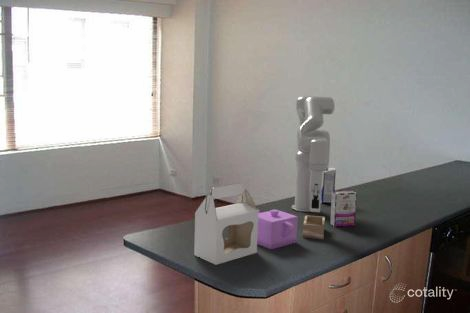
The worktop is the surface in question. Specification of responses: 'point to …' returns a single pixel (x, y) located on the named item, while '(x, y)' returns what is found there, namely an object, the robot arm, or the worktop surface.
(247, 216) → the gable box
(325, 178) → the milk carton
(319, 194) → the brushed metal block
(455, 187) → the worktop surface
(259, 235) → the teapot
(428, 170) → the worktop surface
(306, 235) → the open wooden box
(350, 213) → the candy bar box
